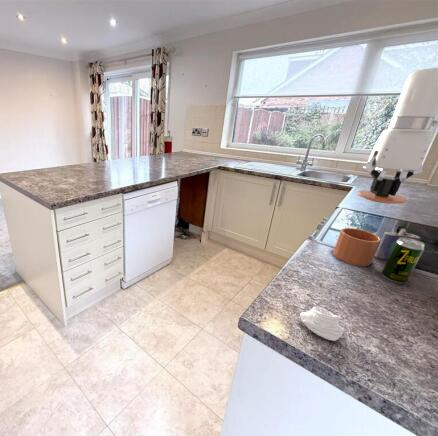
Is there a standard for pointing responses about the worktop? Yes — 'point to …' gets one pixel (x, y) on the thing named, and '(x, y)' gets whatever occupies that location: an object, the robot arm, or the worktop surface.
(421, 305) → the worktop surface
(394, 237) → the flask
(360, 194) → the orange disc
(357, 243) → the pot
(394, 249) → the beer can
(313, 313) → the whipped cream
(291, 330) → the worktop surface
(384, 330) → the worktop surface
